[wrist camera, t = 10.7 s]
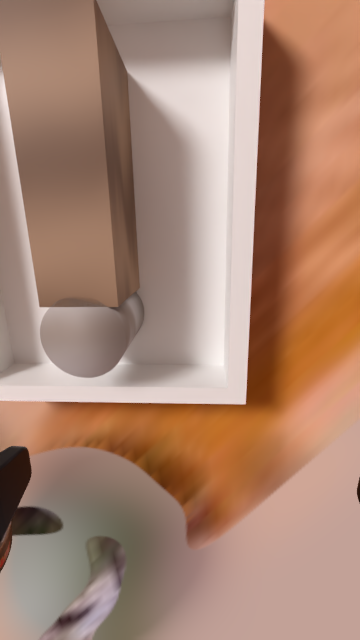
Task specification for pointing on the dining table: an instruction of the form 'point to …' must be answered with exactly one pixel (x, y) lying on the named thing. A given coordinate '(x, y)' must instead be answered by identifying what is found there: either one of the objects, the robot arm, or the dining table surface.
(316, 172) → the dining table surface
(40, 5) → the strut
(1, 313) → the bin
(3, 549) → the tin
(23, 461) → the robot arm
